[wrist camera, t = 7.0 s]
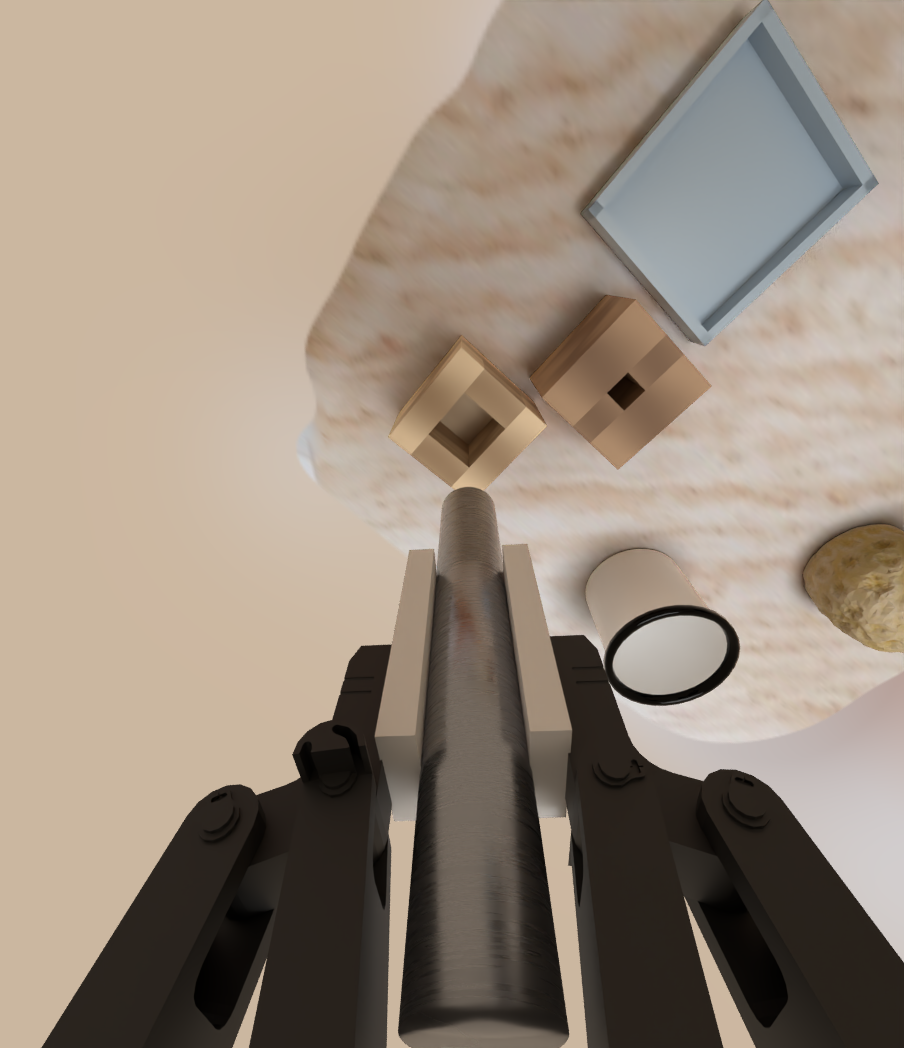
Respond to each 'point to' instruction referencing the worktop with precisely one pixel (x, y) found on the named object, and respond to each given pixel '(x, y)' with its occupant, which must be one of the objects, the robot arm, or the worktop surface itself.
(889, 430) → the worktop surface
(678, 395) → the walnut block
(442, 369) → the oak block
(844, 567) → the coral
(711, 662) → the mug
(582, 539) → the worktop surface
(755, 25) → the tray
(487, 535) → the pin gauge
